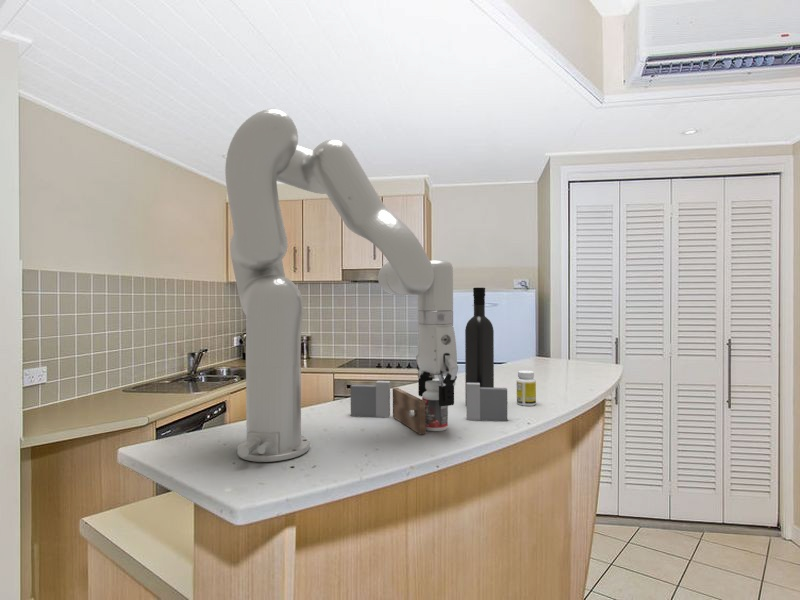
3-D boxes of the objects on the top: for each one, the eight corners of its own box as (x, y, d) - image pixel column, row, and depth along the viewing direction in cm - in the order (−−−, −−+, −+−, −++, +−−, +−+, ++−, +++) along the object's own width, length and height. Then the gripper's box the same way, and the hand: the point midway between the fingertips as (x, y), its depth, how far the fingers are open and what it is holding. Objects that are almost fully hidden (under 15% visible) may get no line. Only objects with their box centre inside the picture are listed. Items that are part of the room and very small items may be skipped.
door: (387, 416, 104) (387, 388, 104) (397, 415, 105) (397, 387, 105) (414, 435, 90) (414, 402, 90) (425, 433, 91) (425, 401, 91)
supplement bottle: (538, 403, 117) (537, 371, 117) (533, 407, 113) (532, 373, 113) (519, 401, 120) (519, 369, 120) (514, 404, 116) (514, 372, 116)
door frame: (507, 421, 101) (507, 385, 101) (350, 416, 105) (350, 381, 105) (506, 418, 103) (506, 383, 103) (352, 413, 107) (352, 380, 107)
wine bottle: (478, 402, 118) (478, 287, 118) (495, 406, 114) (495, 287, 114) (463, 406, 115) (463, 287, 115) (480, 410, 110) (480, 287, 110)
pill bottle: (417, 429, 95) (417, 382, 95) (429, 423, 99) (429, 378, 99) (440, 433, 92) (440, 385, 92) (452, 427, 96) (451, 381, 96)
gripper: (472, 320, 89) (472, 407, 89) (432, 317, 105) (433, 391, 105) (438, 321, 86) (438, 411, 86) (403, 318, 102) (403, 393, 102)
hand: (435, 400), depth 96 cm, fingers open, 9 cm apart
